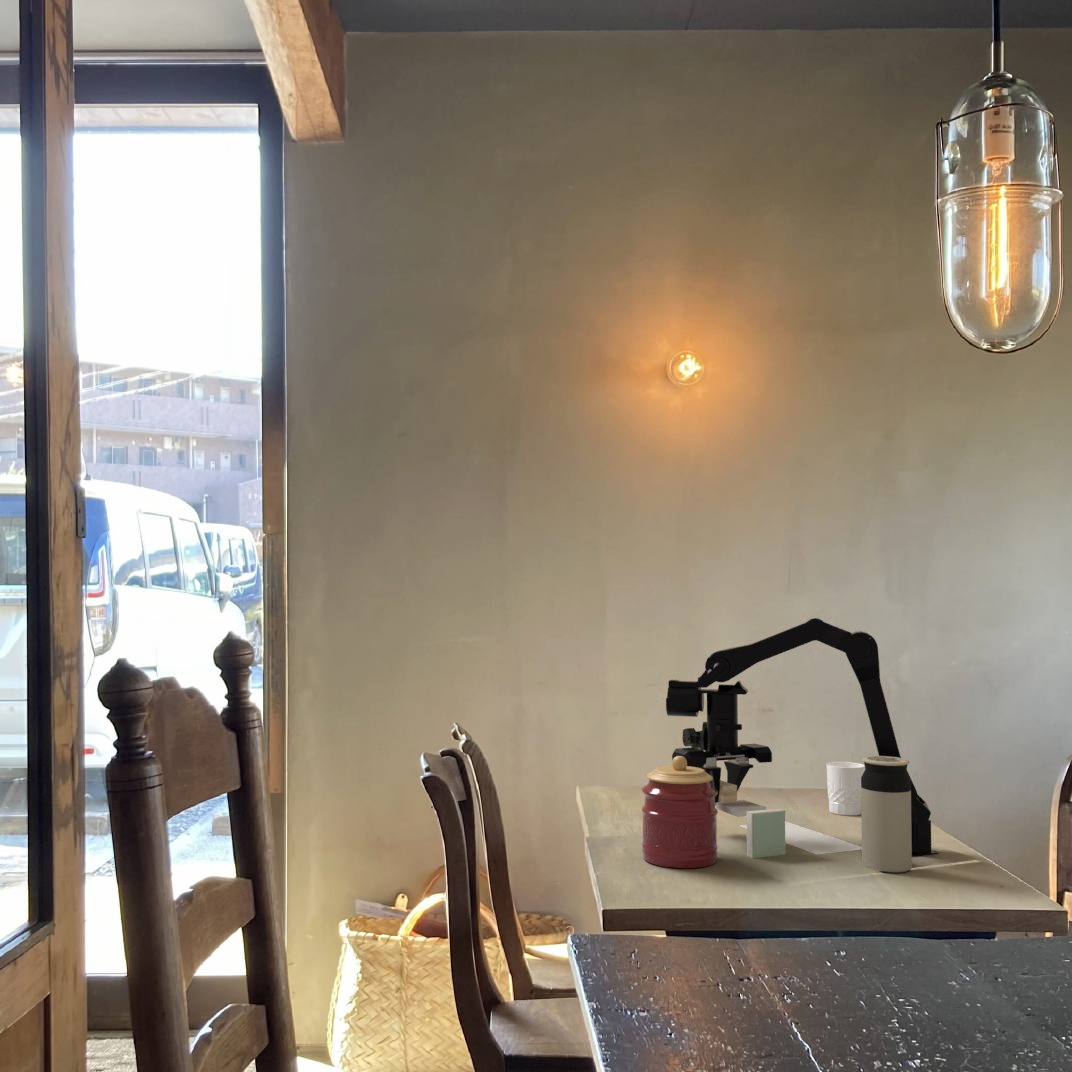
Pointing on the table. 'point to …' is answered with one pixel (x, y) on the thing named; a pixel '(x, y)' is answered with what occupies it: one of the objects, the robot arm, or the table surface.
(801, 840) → the mat
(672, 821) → the canister
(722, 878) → the table surface
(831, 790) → the white cup
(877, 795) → the travel mug
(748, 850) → the tile
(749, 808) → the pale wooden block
